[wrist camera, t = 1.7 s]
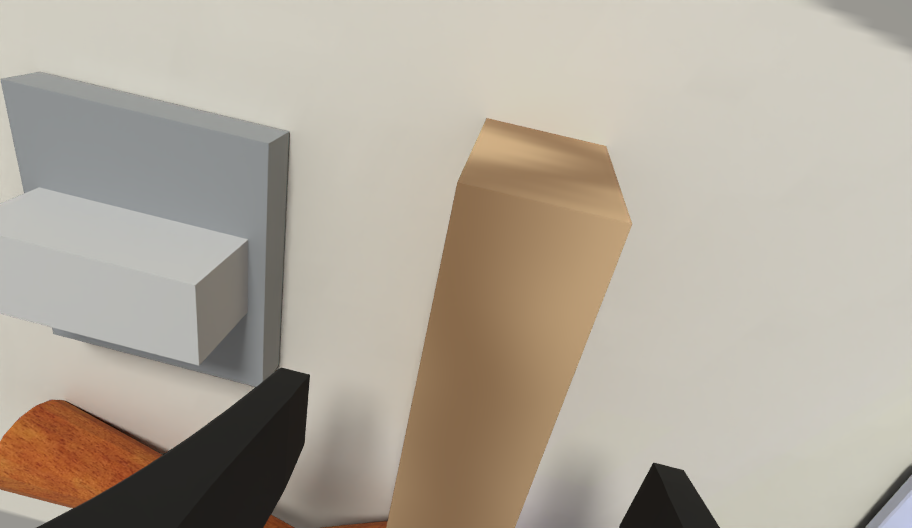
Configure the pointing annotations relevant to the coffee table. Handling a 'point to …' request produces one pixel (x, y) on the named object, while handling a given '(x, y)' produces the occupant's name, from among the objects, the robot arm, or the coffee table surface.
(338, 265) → the coffee table surface
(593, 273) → the oak bar
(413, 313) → the coffee table surface
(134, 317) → the balance stand
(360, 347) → the coffee table surface
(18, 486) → the kendama
